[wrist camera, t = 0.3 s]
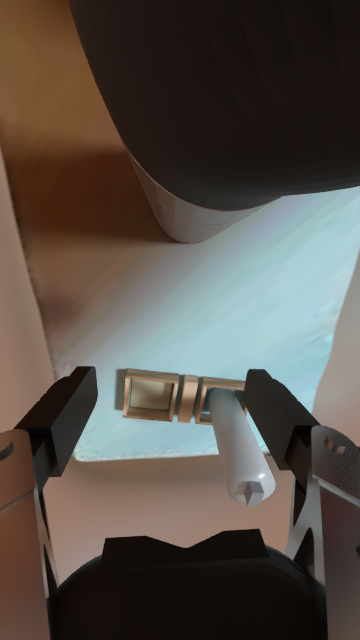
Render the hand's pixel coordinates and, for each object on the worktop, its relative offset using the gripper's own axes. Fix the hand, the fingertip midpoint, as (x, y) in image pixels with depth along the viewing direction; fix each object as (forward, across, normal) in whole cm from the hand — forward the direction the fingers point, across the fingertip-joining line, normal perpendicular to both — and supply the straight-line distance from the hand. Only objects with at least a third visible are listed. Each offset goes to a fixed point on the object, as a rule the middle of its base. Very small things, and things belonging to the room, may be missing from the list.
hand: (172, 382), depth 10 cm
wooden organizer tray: (+17, -4, +16) cm, 24 cm away
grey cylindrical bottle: (+17, -10, +16) cm, 25 cm away
